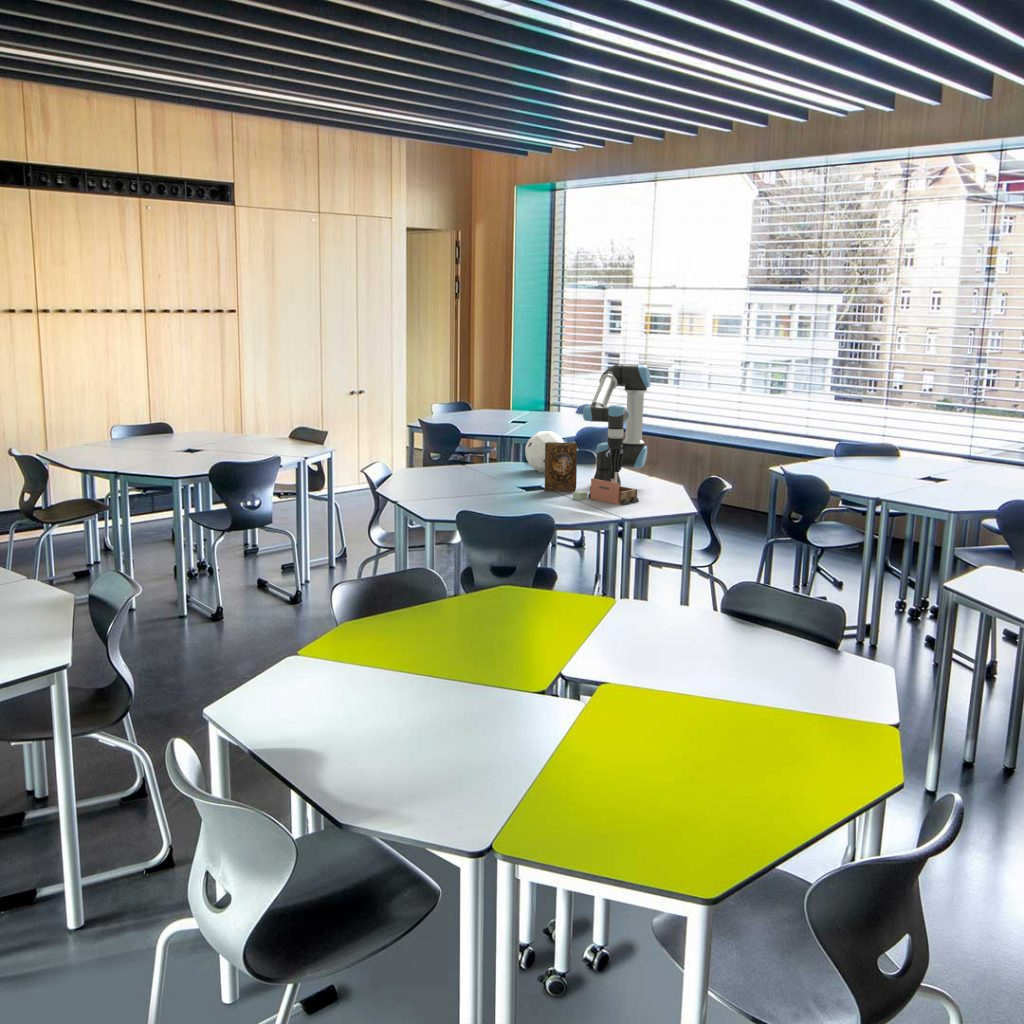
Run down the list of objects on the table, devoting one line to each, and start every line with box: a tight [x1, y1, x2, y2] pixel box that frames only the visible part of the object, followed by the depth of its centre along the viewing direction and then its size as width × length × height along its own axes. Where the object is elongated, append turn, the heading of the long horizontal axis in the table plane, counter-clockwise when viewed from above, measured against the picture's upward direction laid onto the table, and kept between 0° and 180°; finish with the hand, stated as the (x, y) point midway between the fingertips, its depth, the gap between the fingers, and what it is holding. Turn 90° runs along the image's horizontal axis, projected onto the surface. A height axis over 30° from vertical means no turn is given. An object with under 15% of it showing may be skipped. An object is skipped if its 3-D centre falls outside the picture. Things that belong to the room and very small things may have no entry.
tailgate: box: [590, 478, 619, 505], centre depth 480 cm, size 1×17×10 cm, turn 44°
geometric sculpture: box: [524, 430, 565, 473], centre depth 568 cm, size 25×25×25 cm
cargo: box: [572, 490, 588, 501], centre depth 488 cm, size 5×5×5 cm
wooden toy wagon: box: [587, 486, 640, 506], centre depth 485 cm, size 12×23×8 cm, turn 44°
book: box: [544, 442, 578, 493], centre depth 512 cm, size 16×6×25 cm, turn 84°
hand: (613, 484), depth 484 cm, fingers closed
